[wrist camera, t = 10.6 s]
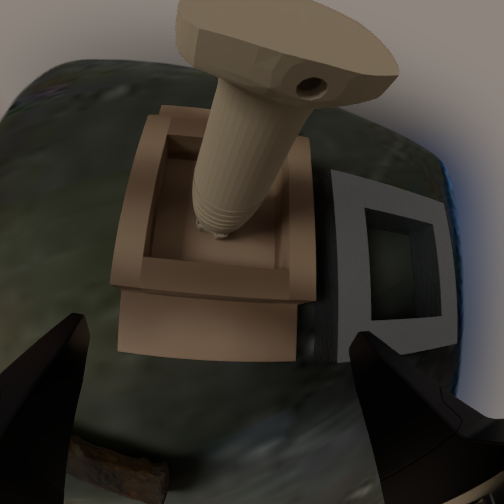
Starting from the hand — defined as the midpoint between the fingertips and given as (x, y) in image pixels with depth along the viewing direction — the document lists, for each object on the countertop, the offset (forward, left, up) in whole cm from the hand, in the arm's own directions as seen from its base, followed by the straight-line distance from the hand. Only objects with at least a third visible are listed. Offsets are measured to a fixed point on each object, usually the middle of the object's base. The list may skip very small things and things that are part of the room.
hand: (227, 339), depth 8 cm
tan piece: (+8, 0, -11) cm, 14 cm away
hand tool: (-11, +12, -11) cm, 20 cm away
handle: (+8, 0, -10) cm, 12 cm away
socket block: (+5, -15, -11) cm, 19 cm away
